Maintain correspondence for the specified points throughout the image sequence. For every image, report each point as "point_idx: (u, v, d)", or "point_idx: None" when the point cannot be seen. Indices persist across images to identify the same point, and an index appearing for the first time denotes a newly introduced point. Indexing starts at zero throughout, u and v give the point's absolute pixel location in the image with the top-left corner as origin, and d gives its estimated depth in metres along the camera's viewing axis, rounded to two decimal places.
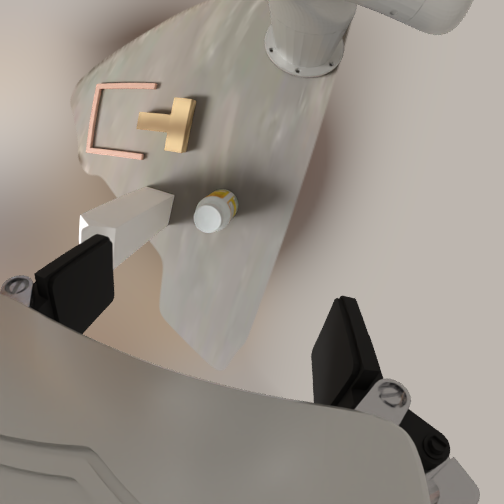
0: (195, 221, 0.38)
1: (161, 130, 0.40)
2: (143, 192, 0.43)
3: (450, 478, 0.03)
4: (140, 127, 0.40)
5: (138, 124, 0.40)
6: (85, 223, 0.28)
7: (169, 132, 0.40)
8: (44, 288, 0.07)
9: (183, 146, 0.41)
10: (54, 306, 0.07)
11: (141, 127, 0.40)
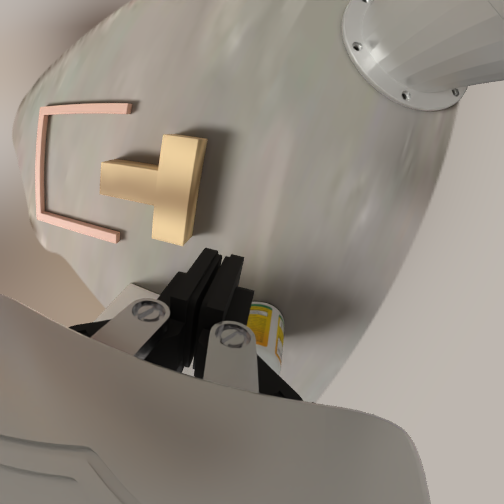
0: None
1: (143, 200, 0.22)
2: None
3: None
4: (105, 191, 0.22)
5: (101, 185, 0.22)
6: None
7: (158, 205, 0.22)
8: (183, 311, 0.08)
9: (187, 231, 0.23)
10: (188, 328, 0.08)
11: (107, 192, 0.22)
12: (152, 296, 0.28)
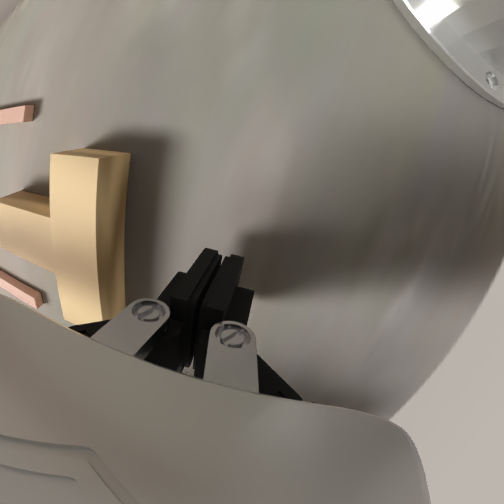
0: None
1: (41, 264, 0.11)
2: None
3: None
4: (4, 244, 0.11)
5: None
6: None
7: (60, 275, 0.11)
8: (183, 311, 0.08)
9: (109, 314, 0.13)
10: (188, 328, 0.08)
11: (5, 245, 0.11)
12: None
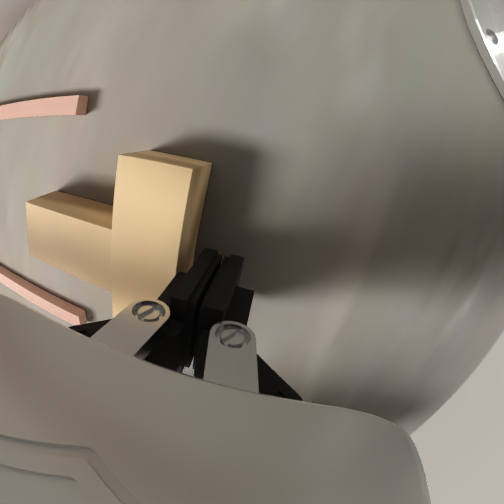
0: None
1: (92, 280, 0.11)
2: None
3: None
4: (37, 253, 0.11)
5: (30, 242, 0.11)
6: None
7: (118, 293, 0.11)
8: (183, 311, 0.08)
9: None
10: (188, 328, 0.08)
11: (39, 253, 0.11)
12: None
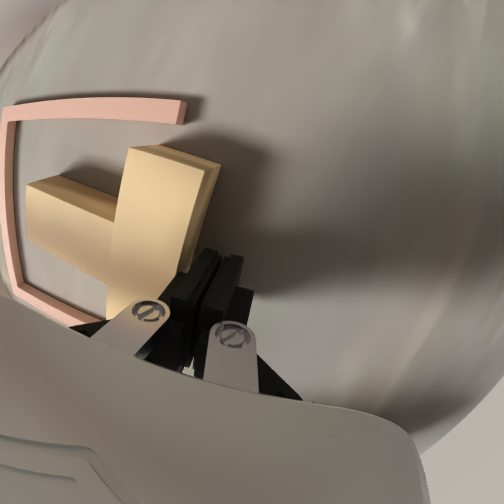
0: None
1: (88, 270, 0.11)
2: None
3: None
4: (33, 237, 0.11)
5: (27, 225, 0.10)
6: None
7: (114, 286, 0.11)
8: (183, 311, 0.08)
9: None
10: (188, 328, 0.08)
11: (35, 238, 0.11)
12: None
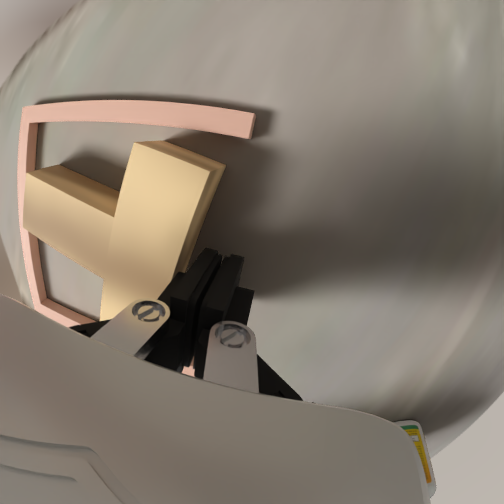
0: None
1: (85, 264, 0.11)
2: None
3: None
4: (30, 227, 0.10)
5: (25, 214, 0.10)
6: None
7: (110, 281, 0.11)
8: (183, 311, 0.08)
9: None
10: (188, 328, 0.08)
11: (32, 228, 0.10)
12: None
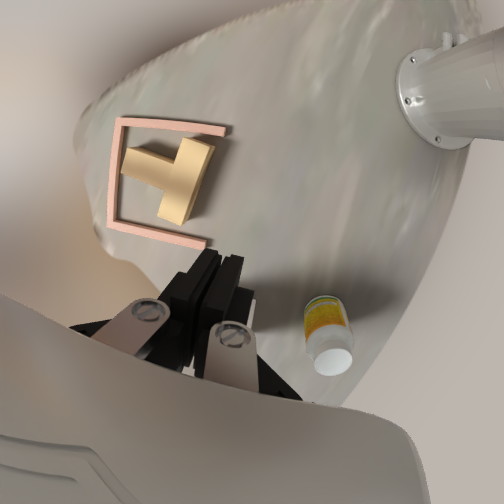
0: (316, 365, 0.25)
1: (156, 185, 0.28)
2: None
3: None
4: (126, 171, 0.27)
5: (123, 166, 0.27)
6: None
7: (168, 191, 0.28)
8: (183, 311, 0.08)
9: (186, 215, 0.29)
10: (188, 328, 0.08)
11: (127, 172, 0.27)
12: None
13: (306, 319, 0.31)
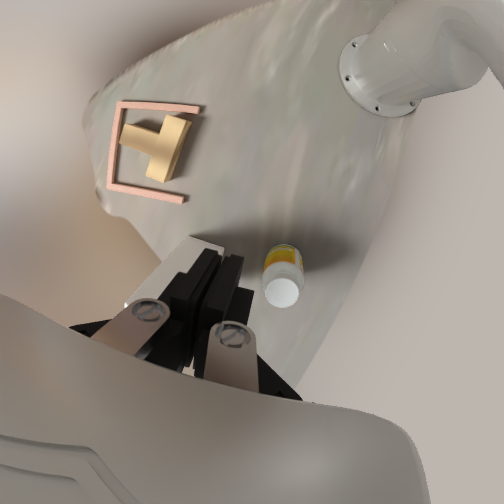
0: (267, 295, 0.32)
1: (145, 151, 0.34)
2: (189, 248, 0.37)
3: None
4: (123, 142, 0.34)
5: (121, 138, 0.34)
6: None
7: (154, 155, 0.34)
8: (183, 311, 0.08)
9: (168, 174, 0.36)
10: (188, 328, 0.08)
11: (124, 142, 0.34)
12: (206, 243, 0.40)
13: (265, 262, 0.38)
